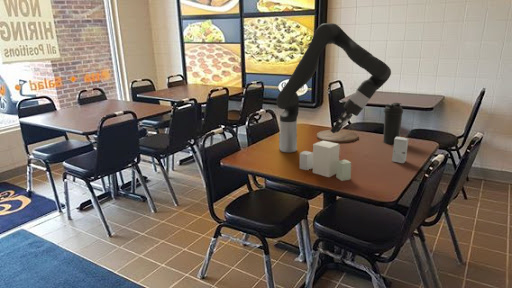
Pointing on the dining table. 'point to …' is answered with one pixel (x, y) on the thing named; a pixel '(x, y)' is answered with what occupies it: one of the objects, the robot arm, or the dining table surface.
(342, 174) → the sage block
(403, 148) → the skincare box
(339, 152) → the button
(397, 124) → the water bottle
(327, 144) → the cream box with panel
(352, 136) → the trivet
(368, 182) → the dining table surface
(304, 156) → the grey block
